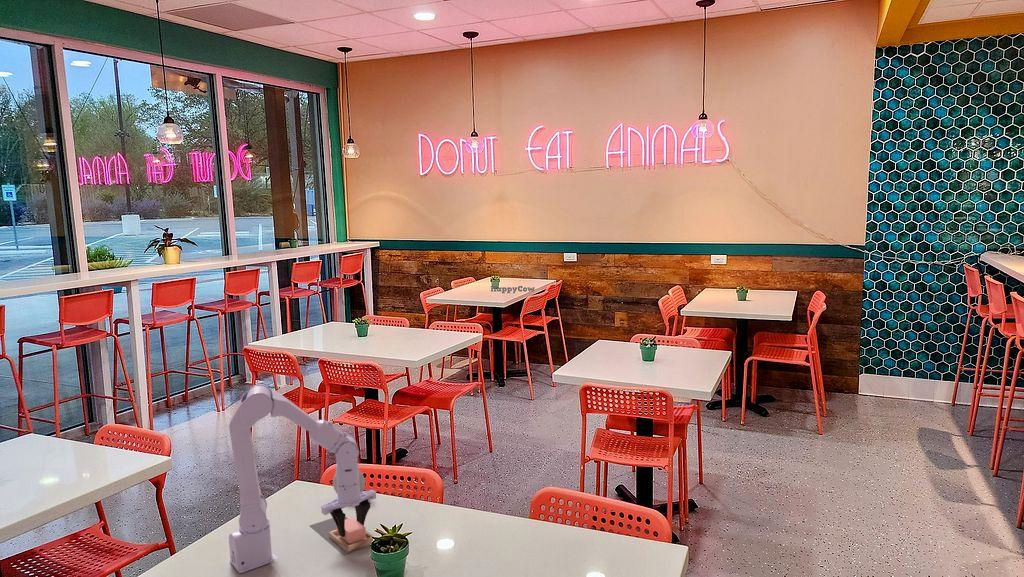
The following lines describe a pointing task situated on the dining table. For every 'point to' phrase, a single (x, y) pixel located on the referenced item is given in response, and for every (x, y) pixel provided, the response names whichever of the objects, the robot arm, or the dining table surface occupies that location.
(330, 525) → the mat
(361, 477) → the donut
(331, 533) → the tray
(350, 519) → the card deck
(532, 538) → the dining table surface
